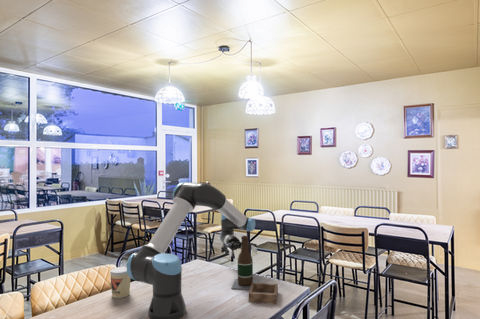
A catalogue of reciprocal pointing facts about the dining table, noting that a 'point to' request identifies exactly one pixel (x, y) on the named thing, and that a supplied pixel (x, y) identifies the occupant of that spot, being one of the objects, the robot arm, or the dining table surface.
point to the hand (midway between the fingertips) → (244, 252)
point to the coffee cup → (120, 282)
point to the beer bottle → (245, 264)
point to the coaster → (237, 286)
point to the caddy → (263, 293)
